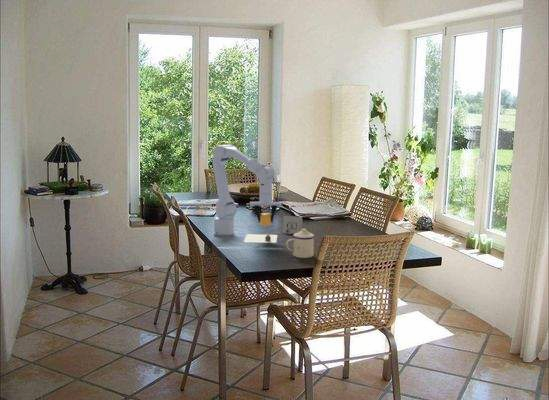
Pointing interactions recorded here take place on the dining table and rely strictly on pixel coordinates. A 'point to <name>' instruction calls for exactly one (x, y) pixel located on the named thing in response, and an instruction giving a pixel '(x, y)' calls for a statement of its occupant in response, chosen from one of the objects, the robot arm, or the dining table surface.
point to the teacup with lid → (302, 244)
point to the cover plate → (261, 238)
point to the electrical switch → (292, 224)
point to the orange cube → (265, 219)
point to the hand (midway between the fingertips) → (265, 221)
